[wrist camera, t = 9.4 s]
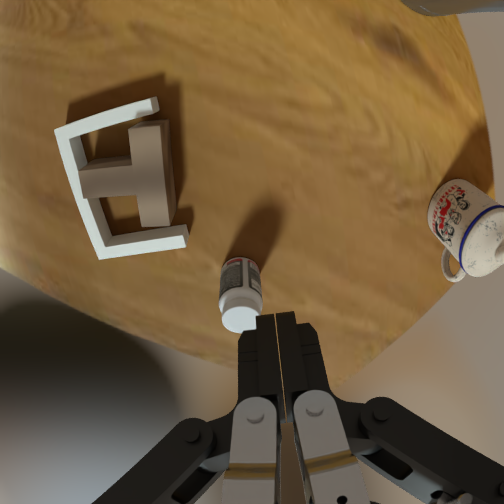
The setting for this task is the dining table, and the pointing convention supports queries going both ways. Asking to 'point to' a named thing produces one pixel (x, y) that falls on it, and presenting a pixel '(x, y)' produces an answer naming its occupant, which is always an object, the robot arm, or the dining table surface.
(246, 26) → the dining table surface
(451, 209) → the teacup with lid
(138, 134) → the t block
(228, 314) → the pill bottle
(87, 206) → the pocket
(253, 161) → the dining table surface
